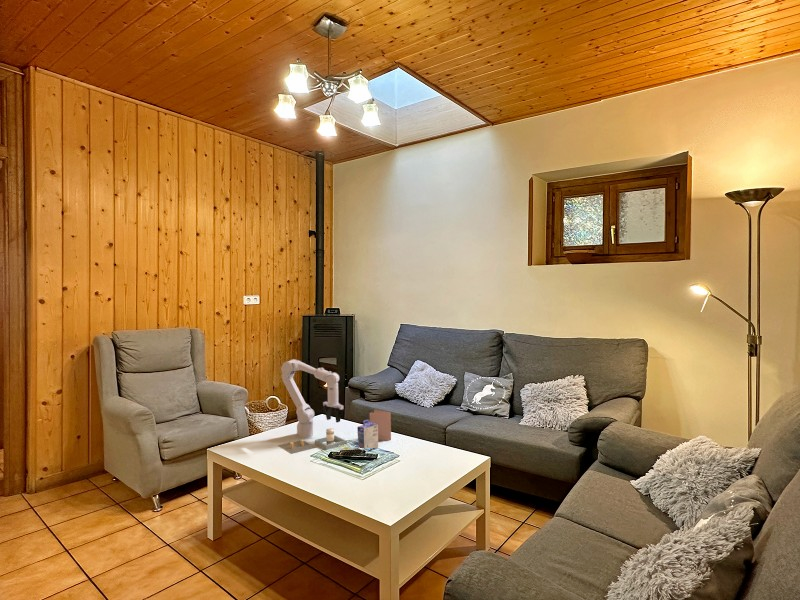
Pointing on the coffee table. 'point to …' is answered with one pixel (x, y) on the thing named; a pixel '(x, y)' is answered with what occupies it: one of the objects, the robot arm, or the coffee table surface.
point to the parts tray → (330, 446)
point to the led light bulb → (329, 436)
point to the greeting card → (382, 423)
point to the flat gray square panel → (297, 446)
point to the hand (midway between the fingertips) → (333, 420)
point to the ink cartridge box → (368, 435)
